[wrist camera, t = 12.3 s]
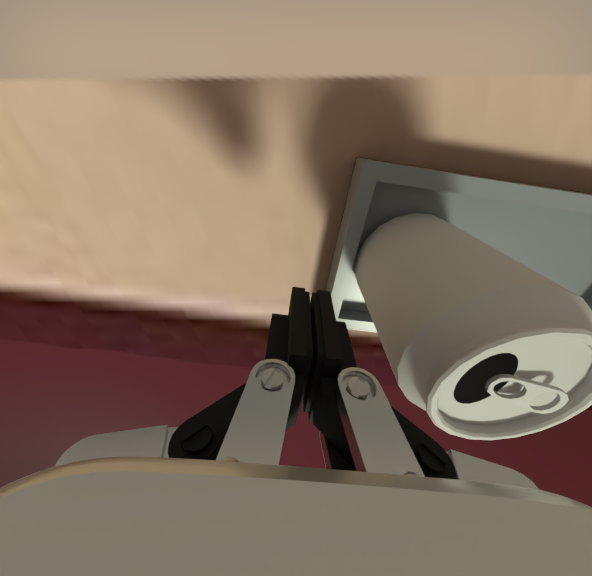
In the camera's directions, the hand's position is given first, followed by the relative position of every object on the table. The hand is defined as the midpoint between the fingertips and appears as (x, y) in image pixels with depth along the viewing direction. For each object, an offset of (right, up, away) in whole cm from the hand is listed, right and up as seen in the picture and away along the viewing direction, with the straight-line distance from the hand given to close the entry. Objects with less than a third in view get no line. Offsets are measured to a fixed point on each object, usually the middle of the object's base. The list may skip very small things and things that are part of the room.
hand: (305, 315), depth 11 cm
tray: (+14, +3, +9) cm, 17 cm away
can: (+8, +4, +8) cm, 12 cm away
